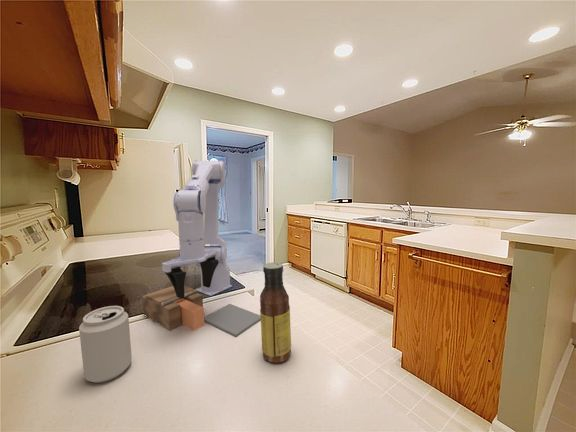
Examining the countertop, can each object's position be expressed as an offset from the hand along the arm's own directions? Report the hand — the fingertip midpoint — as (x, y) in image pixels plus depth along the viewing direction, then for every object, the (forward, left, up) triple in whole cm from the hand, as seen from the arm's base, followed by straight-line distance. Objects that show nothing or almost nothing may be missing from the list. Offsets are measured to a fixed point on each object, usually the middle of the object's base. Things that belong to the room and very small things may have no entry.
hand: (194, 291), depth 62 cm
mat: (-8, +5, -9) cm, 13 cm away
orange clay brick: (0, -4, -9) cm, 10 cm away
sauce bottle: (-3, +23, -10) cm, 26 cm away
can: (+19, -1, -10) cm, 21 cm away
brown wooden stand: (0, -10, -9) cm, 14 cm away
